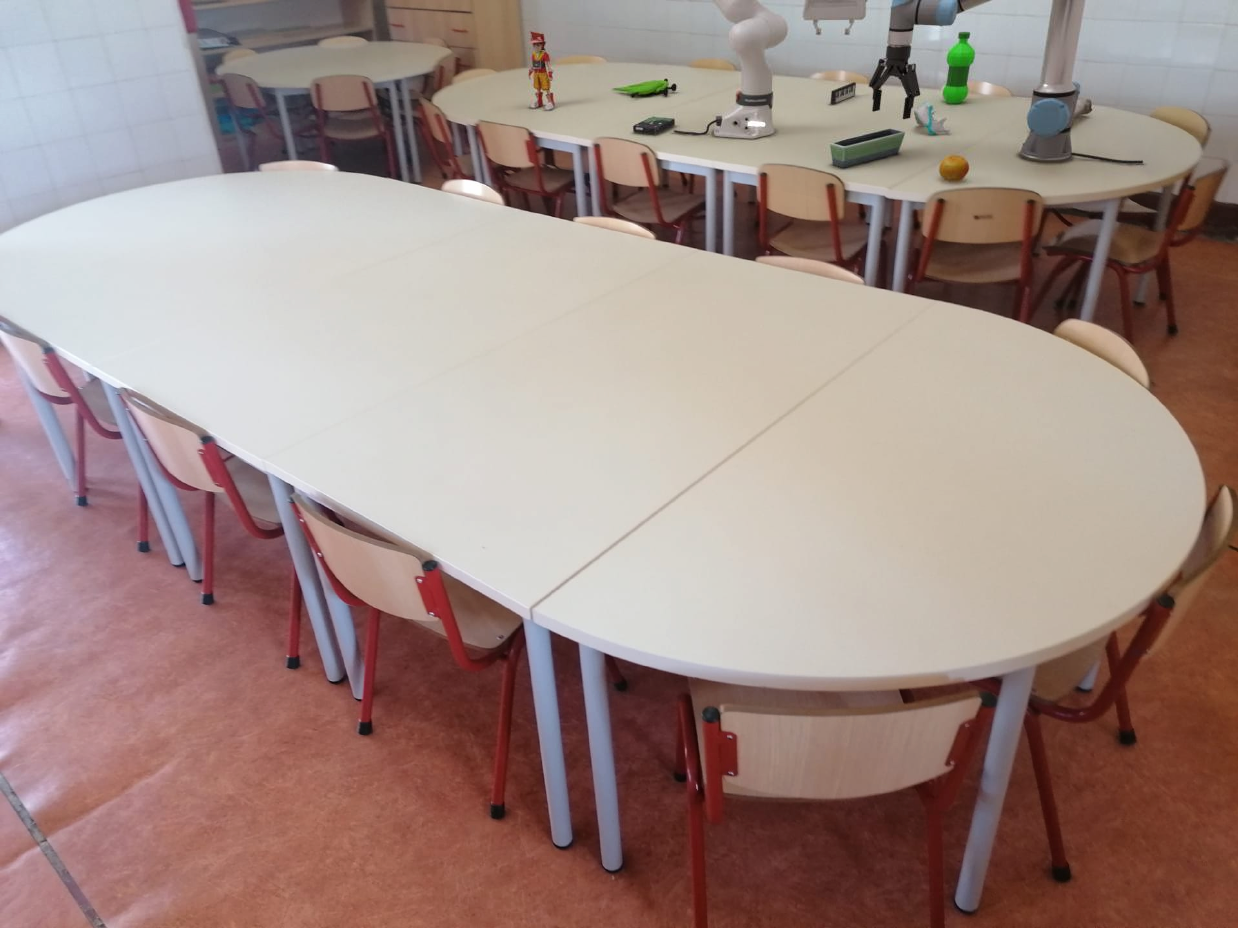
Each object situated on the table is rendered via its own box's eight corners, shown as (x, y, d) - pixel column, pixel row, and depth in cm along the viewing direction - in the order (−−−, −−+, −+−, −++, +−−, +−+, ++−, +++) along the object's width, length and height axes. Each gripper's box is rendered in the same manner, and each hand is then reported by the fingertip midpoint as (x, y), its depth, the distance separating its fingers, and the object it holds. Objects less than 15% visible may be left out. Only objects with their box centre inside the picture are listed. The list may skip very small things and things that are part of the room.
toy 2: (686, 85, 398) (631, 84, 414) (685, 72, 395) (629, 72, 411) (651, 104, 381) (596, 103, 397) (650, 92, 378) (594, 91, 394)
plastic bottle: (973, 101, 354) (984, 32, 339) (955, 106, 349) (966, 36, 335) (952, 97, 361) (962, 29, 346) (934, 102, 356) (944, 33, 342)
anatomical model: (908, 101, 325) (935, 94, 324) (909, 130, 331) (936, 123, 330) (923, 112, 313) (951, 104, 312) (924, 141, 319) (952, 134, 318)
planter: (842, 170, 292) (844, 147, 288) (827, 165, 297) (828, 142, 293) (903, 153, 303) (906, 131, 299) (887, 149, 308) (890, 127, 304)
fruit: (933, 171, 274) (950, 147, 271) (934, 173, 282) (951, 150, 279) (956, 186, 273) (974, 163, 270) (956, 188, 281) (973, 165, 278)
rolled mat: (1059, 103, 333) (1083, 86, 324) (1072, 124, 333) (1097, 107, 325) (1027, 125, 315) (1052, 107, 307) (1041, 147, 316) (1067, 130, 308)
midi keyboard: (833, 104, 361) (834, 91, 358) (830, 104, 362) (831, 91, 359) (855, 95, 372) (856, 82, 369) (852, 95, 372) (853, 82, 370)
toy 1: (525, 109, 381) (517, 32, 364) (534, 104, 388) (527, 28, 371) (550, 110, 377) (543, 32, 360) (559, 105, 384) (553, 28, 367)
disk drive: (656, 136, 337) (675, 125, 347) (656, 128, 335) (675, 118, 345) (632, 133, 342) (652, 123, 352) (632, 125, 340) (651, 115, 350)
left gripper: (870, -14, 288) (865, 33, 296) (806, -13, 294) (803, 33, 302) (867, -11, 283) (863, 36, 291) (803, -10, 290) (800, 36, 297)
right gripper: (938, 48, 277) (927, 119, 289) (879, 38, 294) (871, 106, 307) (920, 52, 274) (911, 124, 286) (862, 41, 291) (855, 109, 304)
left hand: (832, 35), depth 297 cm, fingers open, 8 cm apart
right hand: (890, 114), depth 296 cm, fingers open, 13 cm apart
